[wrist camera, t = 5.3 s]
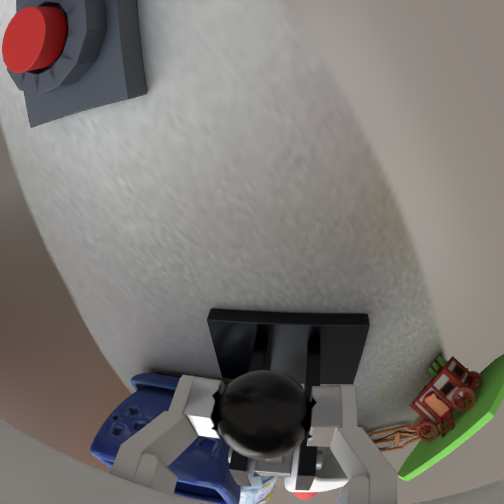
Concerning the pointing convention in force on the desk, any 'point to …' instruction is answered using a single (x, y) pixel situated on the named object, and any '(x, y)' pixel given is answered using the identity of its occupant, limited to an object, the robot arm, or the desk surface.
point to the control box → (86, 60)
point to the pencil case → (257, 488)
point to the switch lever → (264, 419)
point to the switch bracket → (288, 362)
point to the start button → (34, 38)
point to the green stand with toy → (452, 410)
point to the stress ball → (304, 494)
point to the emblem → (396, 437)
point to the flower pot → (188, 462)
